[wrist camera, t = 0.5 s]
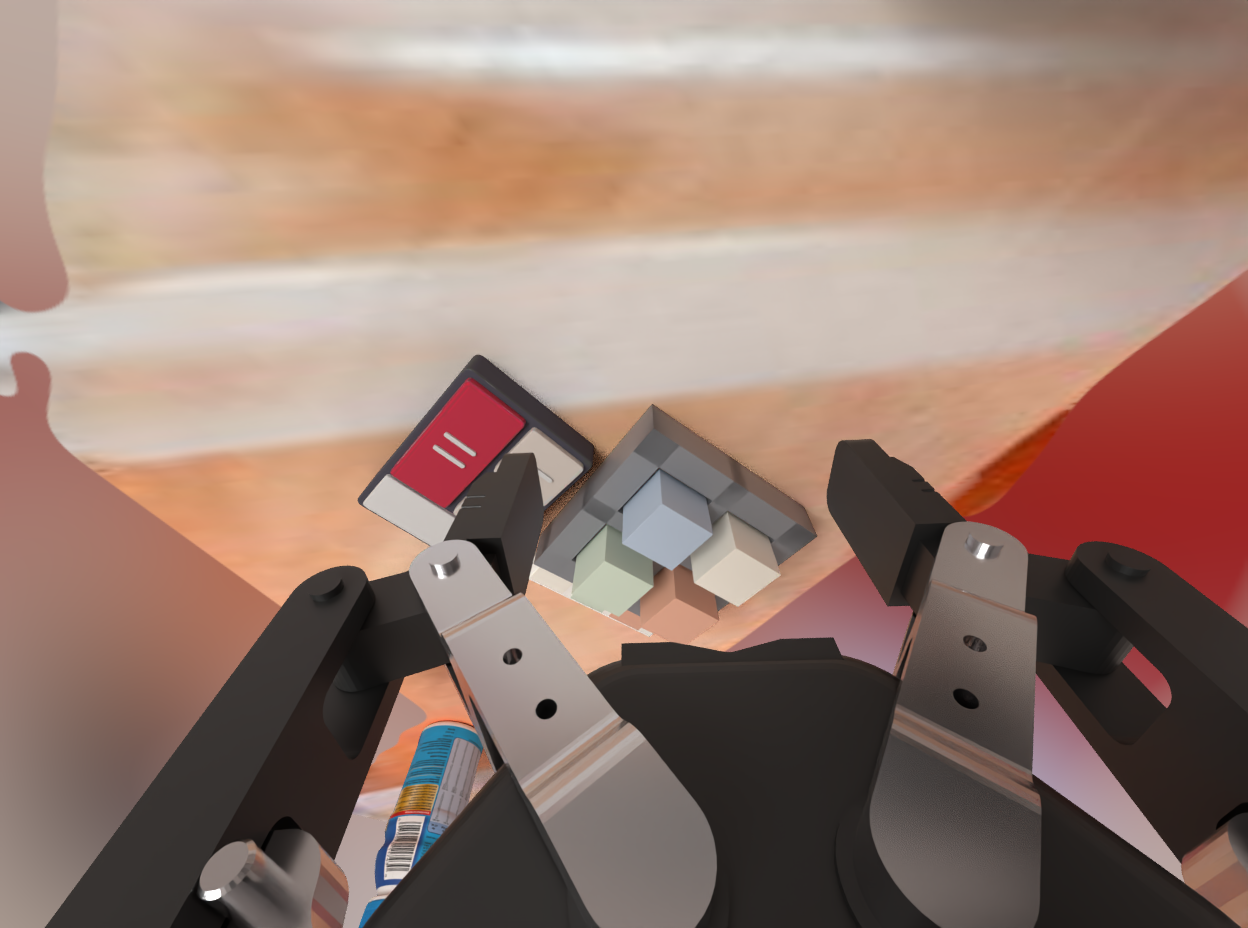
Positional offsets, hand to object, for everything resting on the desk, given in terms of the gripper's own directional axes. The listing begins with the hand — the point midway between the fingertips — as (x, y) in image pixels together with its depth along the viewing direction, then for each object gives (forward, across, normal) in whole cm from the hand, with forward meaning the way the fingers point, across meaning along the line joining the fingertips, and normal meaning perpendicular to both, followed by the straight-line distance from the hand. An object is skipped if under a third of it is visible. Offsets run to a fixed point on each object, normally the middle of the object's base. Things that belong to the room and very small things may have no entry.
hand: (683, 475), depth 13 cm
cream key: (+18, -6, +18) cm, 26 cm away
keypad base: (+21, -1, +18) cm, 28 cm away
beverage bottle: (+24, +27, +55) cm, 65 cm away
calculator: (+22, +14, +12) cm, 28 cm away
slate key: (+18, -1, +14) cm, 23 cm away
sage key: (+18, +3, +19) cm, 27 cm away
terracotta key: (+19, -2, +23) cm, 30 cm away
